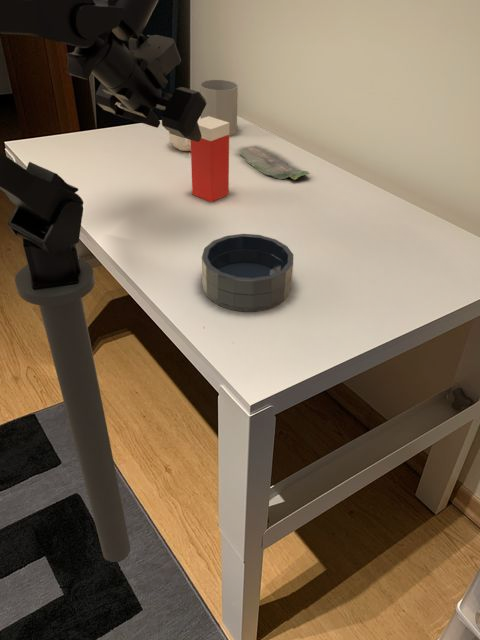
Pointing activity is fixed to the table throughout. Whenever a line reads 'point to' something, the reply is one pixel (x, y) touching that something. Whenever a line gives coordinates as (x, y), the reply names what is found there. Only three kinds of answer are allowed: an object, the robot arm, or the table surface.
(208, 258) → the pot
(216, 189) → the soup carton
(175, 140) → the teacup
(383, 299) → the table surface
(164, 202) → the table surface
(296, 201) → the table surface
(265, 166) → the leaf
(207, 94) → the cup
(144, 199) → the table surface
